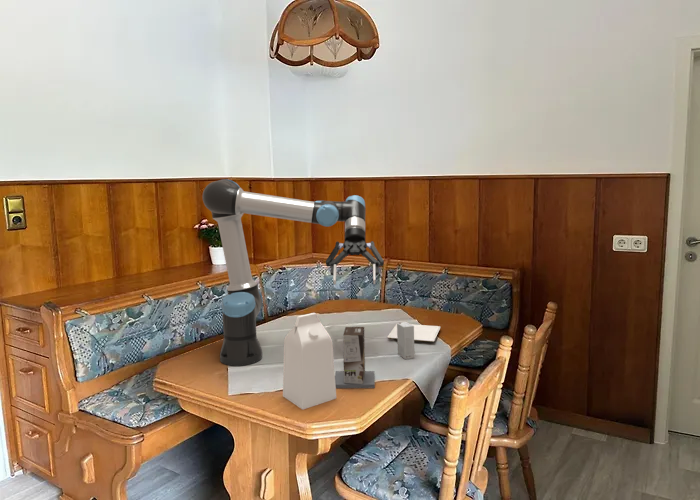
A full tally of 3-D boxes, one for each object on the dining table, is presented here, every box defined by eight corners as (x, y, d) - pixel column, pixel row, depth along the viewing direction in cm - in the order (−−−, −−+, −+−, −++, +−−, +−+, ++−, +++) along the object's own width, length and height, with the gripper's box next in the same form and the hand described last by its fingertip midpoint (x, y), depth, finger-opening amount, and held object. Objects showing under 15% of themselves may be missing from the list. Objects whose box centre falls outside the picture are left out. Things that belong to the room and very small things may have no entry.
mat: (335, 374, 183) (335, 371, 183) (374, 374, 183) (374, 371, 183) (333, 388, 173) (333, 384, 172) (374, 388, 172) (374, 384, 172)
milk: (315, 386, 174) (313, 307, 170) (336, 398, 165) (334, 315, 161) (282, 396, 167) (279, 314, 163) (302, 409, 158) (299, 323, 154)
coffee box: (363, 384, 172) (363, 335, 169) (343, 383, 173) (342, 334, 170) (365, 372, 181) (364, 326, 178) (346, 372, 182) (345, 325, 179)
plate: (386, 341, 216) (386, 336, 215) (396, 327, 233) (396, 323, 233) (434, 345, 210) (434, 340, 210) (440, 330, 228) (440, 326, 227)
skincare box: (415, 358, 197) (415, 325, 195) (403, 359, 196) (403, 327, 193) (407, 352, 203) (407, 321, 201) (396, 354, 201) (396, 322, 199)
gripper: (389, 238, 201) (390, 287, 189) (321, 239, 202) (319, 288, 190) (389, 225, 195) (391, 276, 183) (320, 226, 196) (317, 276, 184)
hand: (354, 282), depth 187 cm, fingers open, 13 cm apart
